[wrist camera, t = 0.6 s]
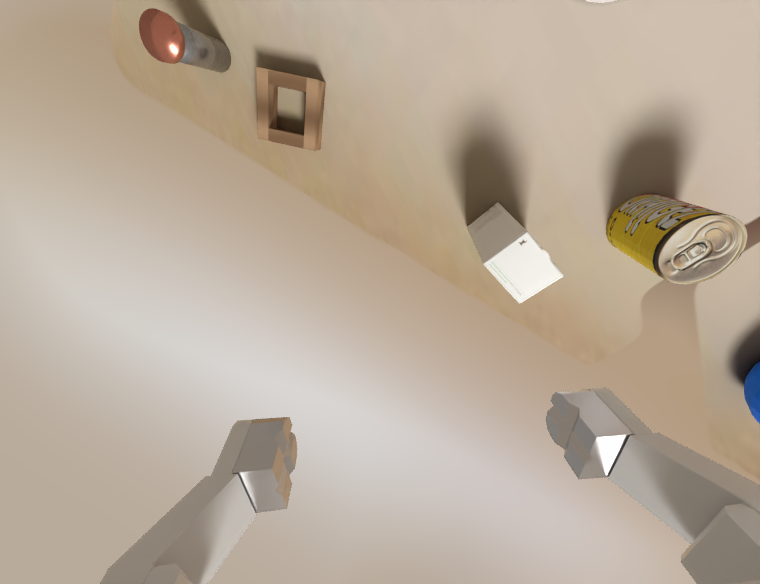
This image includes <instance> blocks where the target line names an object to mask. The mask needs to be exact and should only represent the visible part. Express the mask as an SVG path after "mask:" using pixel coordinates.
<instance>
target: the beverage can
mask: <svg viewBox="0 0 760 584" xmlns="http://www.w3.org/2000/svg"><path fill="white" fill-rule="evenodd" d="M606 235H607V238H608V240H609V242H610V243H611V244H612V245H613V246H614V247H616V248H618V249H619V250H621V251H622V252H624V253H625V254H627V255H628V256H630V257H631V258H633V259H634V260H636V261H637V262H639V263H640V264H642V265H644V266H645V267H647V268H648V269H650V270H651V271H653V272H654V273H656V274H657V275H659V276H660V277H662V278H664V279H665V280H667V281H668V282H672V283H676V284H692V283H698V282H702V281H705V280H708V279H711V278H713V277H714V276H716V275H718V274H720V273H722V272H723V271H725V270H726V269H727V268H729V267H730V266H731V265H732V264H733V263H734V262H735V261H736V260H737V259H738V258H739V257H740V255H741V253H742V252H743V250H744V248H745V245H746V241H747V231H746V228H745V226H744V225H743V223H742V222H741V221H739V220H738V219H736V218H735V217H733V216H729V215H726V214H722V213H719V212H716V211H712V210H709V209H706V208H702V207H699V206H696V205H692V204H689V203H686V202H682V201H679V200H676V199H672V198H669V197H665V196H662V195H658V194H643V195H639V196H636V197H634V198H631V199H629V200H627V201H626V202H624V203H623V204H622V205H620V206H619V207H618V208H617V209H616V210H615V211H614V212H613V214H612V215H611V217H610V219H609V221H608V224H607V227H606Z"/></svg>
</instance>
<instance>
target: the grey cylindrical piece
mask: <svg viewBox="0 0 760 584" xmlns="http://www.w3.org/2000/svg"><path fill="white" fill-rule="evenodd" d="M139 31H140V36H141V39H142V42H143V44H144V46H145V47H146V49H147V50H148V52H149V53H150V54H151V55H152V56H153V57H154V58H156V59H157V60H159V61H162V62H166V63H170V64H174V63H177V62H181V63H185V64H189V65H193V66H197V67H201V68H205V69H209V70H212V71H216V72H225V71H227V70H228V68H229V67H230V64H231V56H230V52H229V49H228V47H227V46H226V44H225V43H224V42H223V41H221V40H220V39H217V38H215V37H212V36H210V35H207V34H205V33H203V32H200V31H198V30H195V29H193V28H190V27H188V26H186V25H183V24H181V23H178V22H176V21H175V20H174V19H173V18H172V17H171V16H170V15H168V14H167V13H165V12H162V11H160V10H157V9H153V8H152V9H147V10H146V11H144V12H143V14H142V15H141V17H140V21H139Z"/></svg>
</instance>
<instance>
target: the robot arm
mask: <svg viewBox="0 0 760 584" xmlns="http://www.w3.org/2000/svg"><path fill="white" fill-rule="evenodd" d="M586 1H589V2H595V3H605V2H611V1H616V0H586ZM551 402H552V403H553V405H554V406H553V407H552V408H551V409H550V410H548V412H547V416H546V422H547V428H548V431H549V433H550V435H551V437H552V439H553V440H554V442H555V443H556V444H557V445H559V446H560V447H562V448H564V449H565V453H564V457H565V459H566V460H567V462H568V464H569V465H570V467H571V468H572V470H573V471H574V473H575V474H576V476H577V477H578V479H588V478H602V477H609V478H608V479H609V480H610V481H612V482H613V483H614V484H615V485H617V486H618V487H619V488H620V489H622V490H623V491H624V492H625V493H627V494H628V495H629V496H631V497H632V498H633V499H634V500H636V501H637V502H638V503H640V504H641V505H642V506H643V507H645V508H646V509H647V510H648V511H650V512H651V513H652V514H653V515H655V516H656V517H657V518H658V519H660V520H661V521H662V522H664V523H665V524H666V525H667V526H669V527H670V528H671V529H672V530H674V531H675V532H676V533H678V534H679V535H680V536H681V537H683V538H684V539H685V540H686V541H688V542H689V543H690V544H691V545H690V546H689V548H687V550H686V551H685V552H684V553H683V554H682V556H681V563H682V564H683V566H684V567H685V568H686V570H687V571H688V572H689V574H690V575H691V576H692V578H693V579H694V580H695V582H696V583H697V584H760V485H759V484H757V483H755V482H753V481H751V480H749V479H747V478H745V477H743V476H741V475H740V474H738V473H736V472H734V471H732V470H730V469H728V468H726V467H724V466H722V465H720V464H718V463H716V462H714V461H713V460H710V459H709V458H707V457H705V456H703V455H701V454H699V453H697V452H695V451H693V450H691V449H689V448H687V447H685V446H683V445H682V444H679V443H678V442H676V441H674V440H672V439H670V438H668V437H666V436H664V435H662V434H660V433H653V432H652V431H651V430H650V429H649V428H648V427H647V426H646V425H645V424H644V423H643V422H642V421H641V420H640V419H639V418H638V417H637V416H636V415H635V414H634V413H633V412H632V411H631V410H630V409H629V408H628V407H627V406H626V405H625V404H624V403H623V402H622V401H621V400H620V399H619V398H618V397H617V396H616V395H615V394H614V393H613V392H612V391H611V390H609V389H607V388H594V389H581V390H572V391H562V392H556V393H555V394H553V395H552V399H551ZM291 427H292V424H291V420H290V417H283V418H269V419H255V420H241V421H237V422H236V423H235V424H234V425H233V427H232V429H231V431H230V434H229V436H228V438H227V441H226V443H225V445H224V447H223V450H222V452H221V454H220V457H219V459H218V461H217V464H216V466H215V468H214V471H213V473H212V475H211V476H207V477H205V478H204V479H203V480H201V481H200V482H199V483H198V484H197V485H196V486H195V487H194V488H193V489H192V490H191V491H190V492H189V493H188V494H187V495H186V496H185V497H184V498H182V500H181V501H179V502H178V503H177V504H176V505H175V506H174V507H173V508H172V509H171V510H170V511H169V512H168V513H167V514H166V515H165V516H163V518H161V519H160V520H159V521H158V522H157V523H156V524H155V525H154V526H153V527H152V528H151V529H150V530H149V531H148V532H147V533H146V534H145V535H143V536H142V537H141V538H140V539H139V540H138V541H137V542H136V543H135V544H134V545H133V546H132V547H131V548H130V549H129V550H128V551H127V552H126V553H125V554H124V555H123V556H121V557H120V558H119V559H118V560H117V561H116V562H115V563H114V564H113V565H112V566H111V567H110V568H109V569H108V571H107V572H106V574H105V576H104V578H103V579H102V581H101V583H100V584H208V582H209V581H210V580H211V578H212V577H213V575H214V574H215V573H216V571H217V570H218V568H219V567H220V565H221V564H222V563H223V561H224V560H225V558H226V557H227V556H228V554H229V553H230V551H231V550H232V548H233V547H234V546H235V544H236V543H237V541H238V540H239V539H240V537H241V536H242V534H243V533H244V531H245V530H246V529H247V527H248V526H249V524H250V523H251V522H252V520H253V519H254V517H255V516H256V513H258V512H266V511H274V510H281V509H287V506H288V500H289V496H290V491H291V485H292V483H291V480H290V476H289V475H290V473H291V472H292V471H293V470H294V469H295V464H296V457H297V442H296V437H295V435H294V434H293V433H292V432H291Z"/></svg>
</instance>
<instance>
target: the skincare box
mask: <svg viewBox="0 0 760 584" xmlns="http://www.w3.org/2000/svg"><path fill="white" fill-rule="evenodd" d="M467 229H468V231H469V233H470V235H471V237H472V239H473V242H474V244H475V246H476V248H477V251H478V253H479V255H480V257H481V259H482V262H483V264H484V265H485V266H486V268H487V269H488V270H489V271H490V272H491V273H492V274H493V275H494V277H495V278H496V279H497V280H498V281H499V282H500V283H501V284H502V285H503V286H504V288H505V289H506V290H507V291H508V292H509V293H510V294H511V295H512V296H513V297H514V298H515V299H516V300H517V301H518V302H519V303H522V302H523V301H525V300H526V299H528V298H529V297H531V296H533V295H534V294H536V293H537V292H539V291H541V290H542V289H544V288H546V287H547V286H549V285H550V284H552V283H554V282H555V281H557V280H558V279H560V278H562V277H563V276H564V275H563V274H562V272H561V271H560V270H559V268H558V267H557V266H556V265H555V263H554V262H553V261H552V260H551V258H550V256H549V254H548V253H547V252H546V251H545V250H543V249H542V247H541V246H540V245H539V244H538V243H537V241H536V240H535V239H534V238H533V237H532V236H531V235H530V234H529V233H528V232H527V231H526V230H525V228H524V227H523V226H522V225H521V224H520V223H519V222H517V221H516V220H515V219H514V218H513V217H512V216H511V215H510V214H509V213H508V212H507V211H506V210H505V209H504V208H503V206H502V205H501V204H500V203H498V202H497V203H496V204H495V205H493V206H492V207H491V208H490V209H488V210H487V211H486V212H485V213H483V214H482V215H481V216H480V217H479V218H477V219H476V220H475V221H474V222H473V223H471V224H470V225H469V226H468V227H467Z"/></svg>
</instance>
